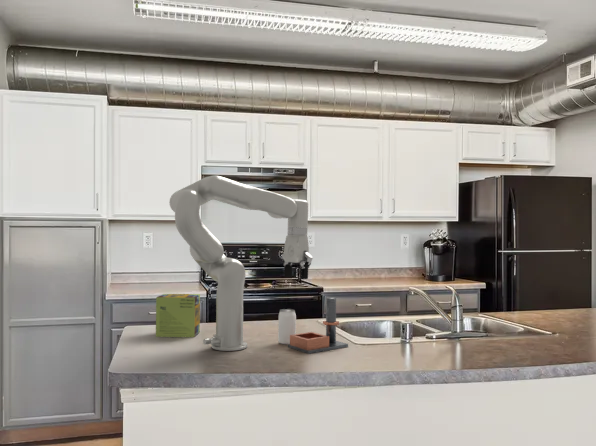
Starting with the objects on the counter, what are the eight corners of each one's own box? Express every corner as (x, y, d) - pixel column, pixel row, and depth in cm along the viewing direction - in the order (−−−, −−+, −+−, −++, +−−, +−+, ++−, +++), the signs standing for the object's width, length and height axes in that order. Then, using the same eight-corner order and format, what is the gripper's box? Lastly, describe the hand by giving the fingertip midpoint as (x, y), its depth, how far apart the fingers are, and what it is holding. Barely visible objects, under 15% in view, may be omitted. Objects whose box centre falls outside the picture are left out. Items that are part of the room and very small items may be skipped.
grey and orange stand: (309, 353, 188) (309, 303, 188) (288, 347, 197) (288, 299, 197) (348, 346, 199) (348, 299, 199) (326, 340, 208) (326, 295, 208)
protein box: (195, 337, 213) (195, 297, 212) (155, 337, 213) (155, 296, 213) (200, 332, 223) (200, 293, 223) (162, 331, 223) (162, 293, 223)
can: (296, 341, 207) (296, 309, 207) (294, 345, 201) (295, 312, 201) (279, 340, 208) (279, 308, 208) (277, 344, 202) (277, 311, 201)
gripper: (275, 231, 213) (274, 276, 213) (304, 232, 200) (302, 280, 199) (291, 232, 218) (289, 275, 218) (319, 233, 204) (318, 279, 204)
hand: (295, 277), depth 208 cm, fingers open, 9 cm apart
